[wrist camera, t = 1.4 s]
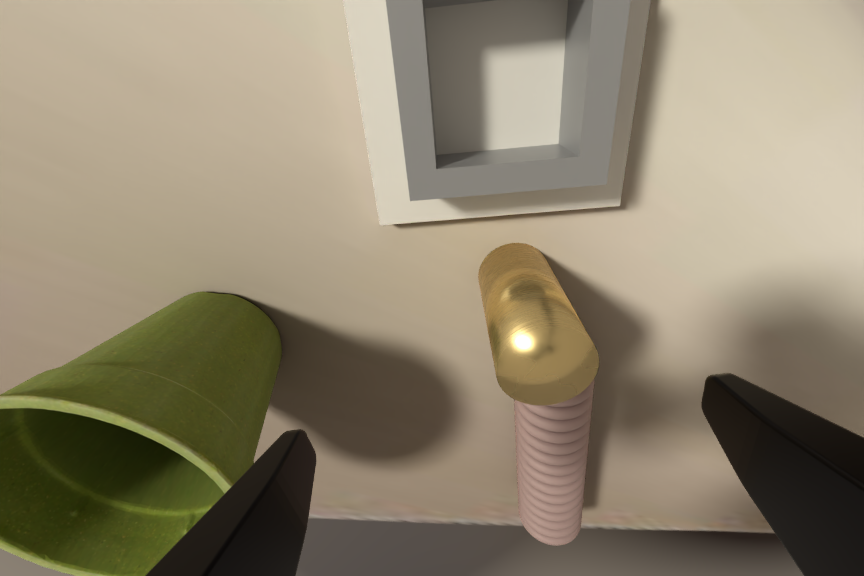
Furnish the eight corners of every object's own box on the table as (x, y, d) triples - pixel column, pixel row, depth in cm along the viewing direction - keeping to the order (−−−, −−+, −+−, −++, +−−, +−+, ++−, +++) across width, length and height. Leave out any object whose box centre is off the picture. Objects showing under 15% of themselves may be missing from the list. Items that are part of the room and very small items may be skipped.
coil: (513, 365, 20) (521, 549, 29) (608, 363, 19) (586, 553, 28) (509, 315, 24) (516, 490, 33) (587, 311, 23) (574, 492, 32)
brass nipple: (550, 240, 21) (605, 324, 14) (546, 302, 23) (592, 402, 16) (477, 245, 21) (495, 330, 14) (479, 306, 23) (496, 407, 16)
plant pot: (291, 424, 29) (213, 609, 19) (121, 365, 26) (-71, 543, 16) (349, 305, 23) (285, 474, 14) (145, 216, 21) (-117, 346, 11)
